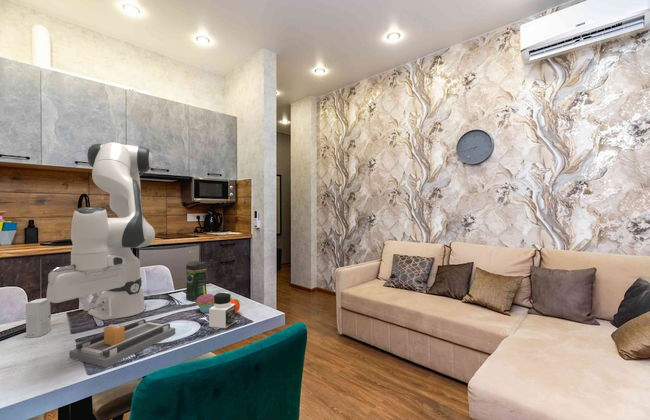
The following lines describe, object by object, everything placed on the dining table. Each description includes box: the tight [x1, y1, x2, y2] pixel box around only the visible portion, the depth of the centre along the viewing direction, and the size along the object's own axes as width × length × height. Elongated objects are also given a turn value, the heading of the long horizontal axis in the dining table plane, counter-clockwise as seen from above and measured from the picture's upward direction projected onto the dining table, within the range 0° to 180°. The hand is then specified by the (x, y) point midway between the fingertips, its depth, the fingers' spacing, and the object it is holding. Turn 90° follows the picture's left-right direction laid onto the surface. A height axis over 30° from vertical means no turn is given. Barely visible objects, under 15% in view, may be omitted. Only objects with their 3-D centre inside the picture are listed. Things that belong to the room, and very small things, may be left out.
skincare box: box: [25, 297, 52, 339], centre depth 107 cm, size 6×4×12 cm
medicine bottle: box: [208, 291, 236, 329], centre depth 115 cm, size 7×7×12 cm
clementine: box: [230, 297, 241, 315], centre depth 126 cm, size 8×7×7 cm
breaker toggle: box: [103, 324, 125, 346], centre depth 94 cm, size 5×3×6 cm, turn 69°
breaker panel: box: [68, 321, 176, 368], centre depth 98 cm, size 16×24×4 cm, turn 159°
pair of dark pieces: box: [75, 318, 171, 356], centre depth 98 cm, size 13×22×1 cm, turn 159°
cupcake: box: [195, 285, 215, 314], centre depth 130 cm, size 9×8×12 cm
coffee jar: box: [185, 260, 208, 302], centre depth 148 cm, size 10×8×19 cm
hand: (90, 309), depth 88 cm, fingers closed
